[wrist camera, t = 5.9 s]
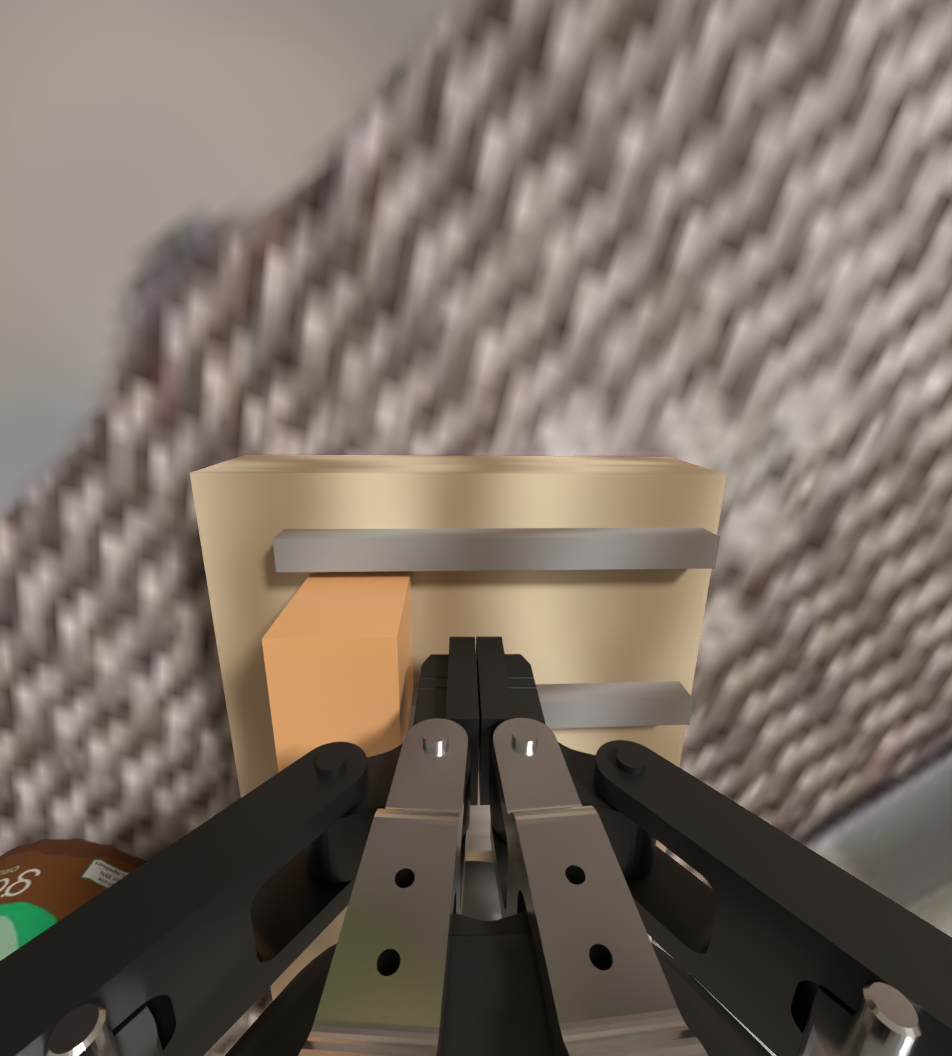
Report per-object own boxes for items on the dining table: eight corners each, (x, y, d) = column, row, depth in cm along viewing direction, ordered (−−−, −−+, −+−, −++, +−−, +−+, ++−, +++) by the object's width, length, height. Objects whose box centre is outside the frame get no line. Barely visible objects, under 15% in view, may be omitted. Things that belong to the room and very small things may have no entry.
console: (668, 456, 18) (794, 495, 12) (604, 963, 26) (658, 1160, 20) (246, 454, 18) (121, 495, 11) (310, 980, 25) (260, 1193, 19)
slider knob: (410, 571, 15) (396, 636, 11) (413, 684, 16) (402, 779, 12) (310, 572, 14) (261, 639, 11) (321, 686, 16) (279, 783, 12)
